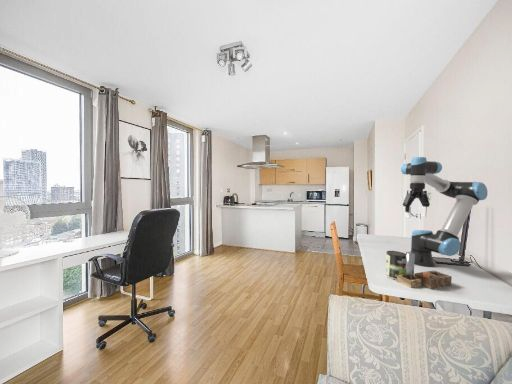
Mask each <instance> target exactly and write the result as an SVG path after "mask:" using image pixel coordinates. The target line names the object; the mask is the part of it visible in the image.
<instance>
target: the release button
mask: <svg viewBox="0 0 512 384" xmlns="http://www.w3.org/2000/svg"><path fill="white" fill-rule="evenodd" d="M422 272H423V276H424V277H427V278H430V273H427V271H422Z"/></svg>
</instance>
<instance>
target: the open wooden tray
mask: <svg viewBox="0 0 512 384" xmlns="http://www.w3.org/2000/svg"><path fill="white" fill-rule="evenodd" d="M396 282H398V283H400V284H402V285H404V286H406V287H408V288H417V287H422V279H420V278H417V277H415V276H414V280H409V279H407V278H405V274H402V275H397V280H396Z"/></svg>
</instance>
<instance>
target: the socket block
mask: <svg viewBox="0 0 512 384" xmlns="http://www.w3.org/2000/svg"><path fill="white" fill-rule="evenodd" d="M423 272H424V271H421V272H414V276H415V277H417V278H420V279H422V285H421V287H424V288H426V289H429V290H434V289H435V288H436V289H440V287H441V288H446V287H451V286H452V277H453V276H451V275H448V274H445V273H443V272H440V271H437V270H429V271H426V272H427V273H430V278H427V277H424V276H423ZM445 286H446V287H445Z"/></svg>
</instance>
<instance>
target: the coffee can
mask: <svg viewBox="0 0 512 384" xmlns="http://www.w3.org/2000/svg"><path fill="white" fill-rule="evenodd" d="M385 260H386V265H385V276H386V277H387V278H389V279H393V280H395V281H397V275H402V274H405V264H406V252H401V251H396V250H387V251H386V259H385Z"/></svg>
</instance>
